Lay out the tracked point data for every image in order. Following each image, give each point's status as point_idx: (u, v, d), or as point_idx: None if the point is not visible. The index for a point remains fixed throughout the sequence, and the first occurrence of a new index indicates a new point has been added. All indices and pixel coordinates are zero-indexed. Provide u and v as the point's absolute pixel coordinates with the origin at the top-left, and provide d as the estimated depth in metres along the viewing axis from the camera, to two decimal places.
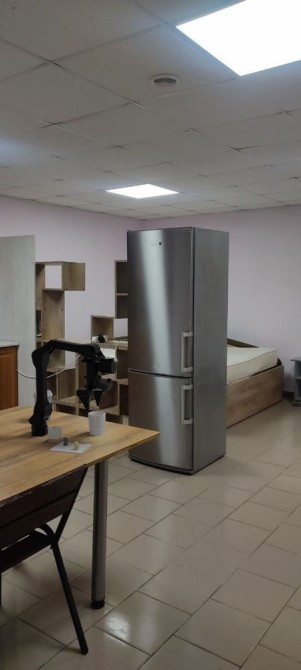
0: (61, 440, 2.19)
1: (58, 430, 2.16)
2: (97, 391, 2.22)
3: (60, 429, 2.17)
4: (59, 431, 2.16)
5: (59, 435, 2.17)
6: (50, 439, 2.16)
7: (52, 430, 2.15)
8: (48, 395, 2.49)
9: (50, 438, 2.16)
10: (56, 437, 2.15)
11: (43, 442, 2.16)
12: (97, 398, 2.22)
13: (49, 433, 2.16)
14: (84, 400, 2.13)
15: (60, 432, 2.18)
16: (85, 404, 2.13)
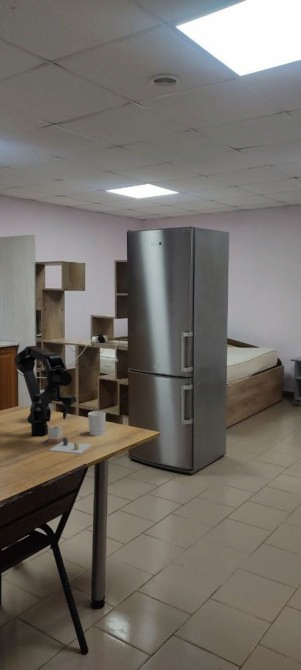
0: (61, 440, 2.19)
1: (58, 430, 2.16)
2: None
3: (60, 429, 2.17)
4: (59, 431, 2.16)
5: (59, 435, 2.17)
6: (50, 439, 2.16)
7: (52, 430, 2.15)
8: None
9: (50, 438, 2.16)
10: (56, 437, 2.15)
11: (43, 442, 2.16)
12: None
13: (49, 433, 2.16)
14: None
15: (60, 432, 2.18)
16: None
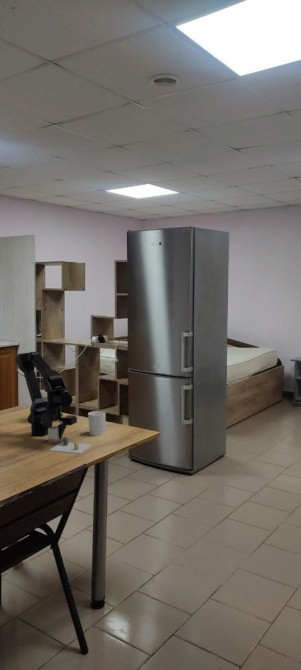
0: (61, 440, 2.19)
1: (58, 430, 2.16)
2: None
3: None
4: None
5: None
6: (50, 439, 2.16)
7: (52, 430, 2.15)
8: None
9: (50, 438, 2.16)
10: (56, 437, 2.15)
11: (43, 442, 2.16)
12: None
13: (49, 433, 2.16)
14: None
15: None
16: None
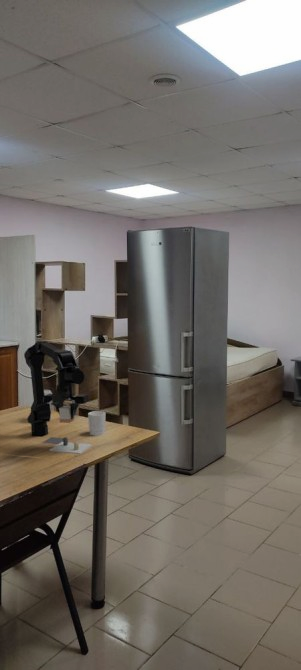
0: (61, 440, 2.19)
1: (70, 409, 2.07)
2: None
3: None
4: (70, 410, 2.07)
5: None
6: (62, 419, 2.07)
7: (63, 410, 2.06)
8: None
9: (61, 418, 2.07)
10: (68, 417, 2.06)
11: (43, 442, 2.16)
12: None
13: (60, 413, 2.07)
14: None
15: None
16: None
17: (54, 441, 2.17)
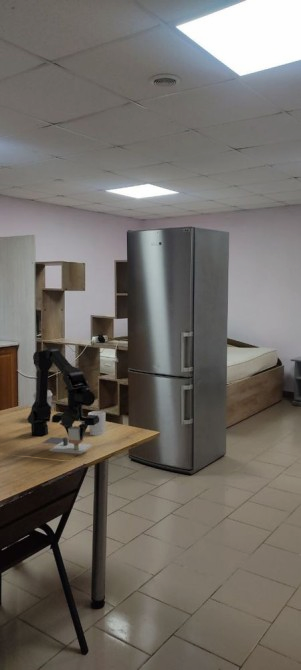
0: (61, 440, 2.19)
1: (79, 430, 2.02)
2: None
3: None
4: None
5: None
6: (71, 439, 2.03)
7: (73, 430, 2.02)
8: (48, 395, 2.49)
9: (70, 439, 2.03)
10: (77, 438, 2.02)
11: (43, 442, 2.16)
12: None
13: (69, 433, 2.03)
14: None
15: None
16: None
17: (54, 441, 2.17)
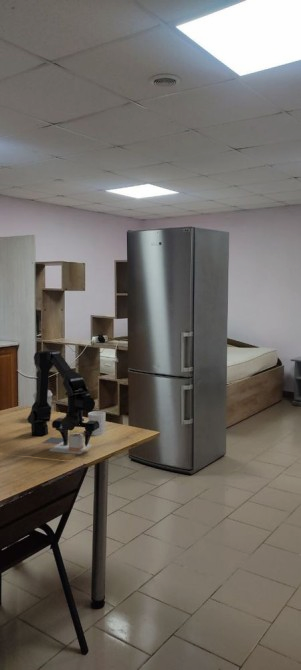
0: (61, 440, 2.19)
1: (79, 438, 2.03)
2: None
3: (81, 437, 2.04)
4: (80, 439, 2.03)
5: (80, 443, 2.04)
6: (71, 447, 2.03)
7: (73, 438, 2.02)
8: (48, 395, 2.49)
9: (71, 446, 2.03)
10: (77, 445, 2.02)
11: (43, 442, 2.16)
12: None
13: (70, 441, 2.03)
14: None
15: (81, 440, 2.04)
16: None
17: (54, 441, 2.17)
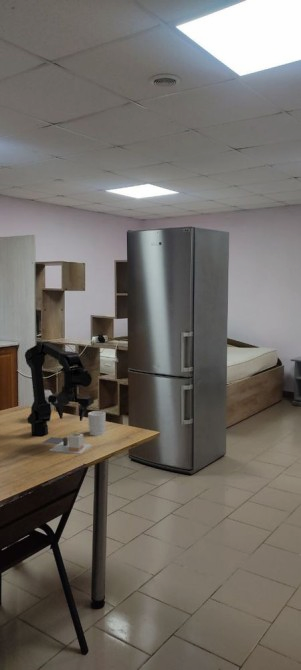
0: (61, 440, 2.19)
1: (79, 438, 2.03)
2: None
3: (81, 437, 2.04)
4: (80, 439, 2.03)
5: (80, 443, 2.04)
6: (71, 447, 2.03)
7: (73, 438, 2.02)
8: (48, 395, 2.49)
9: (71, 446, 2.03)
10: (77, 445, 2.02)
11: (43, 442, 2.16)
12: None
13: (70, 441, 2.03)
14: None
15: (81, 440, 2.04)
16: None
17: (54, 441, 2.17)
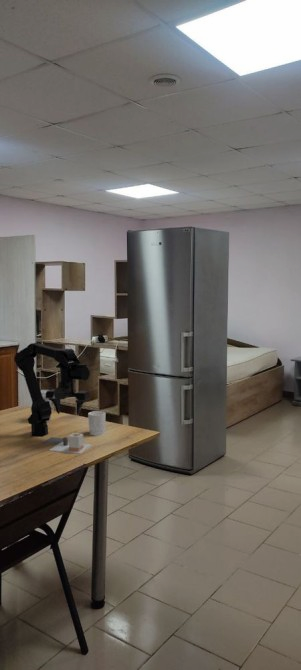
0: (61, 440, 2.19)
1: (79, 438, 2.03)
2: None
3: (81, 437, 2.04)
4: (80, 439, 2.03)
5: (80, 443, 2.04)
6: (71, 447, 2.03)
7: (73, 438, 2.02)
8: None
9: (71, 446, 2.03)
10: (77, 445, 2.02)
11: (43, 442, 2.16)
12: None
13: (70, 441, 2.03)
14: None
15: (81, 440, 2.04)
16: None
17: (54, 441, 2.17)
